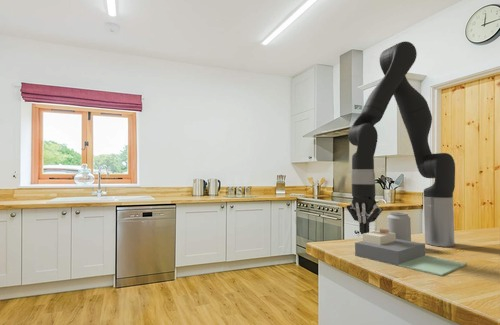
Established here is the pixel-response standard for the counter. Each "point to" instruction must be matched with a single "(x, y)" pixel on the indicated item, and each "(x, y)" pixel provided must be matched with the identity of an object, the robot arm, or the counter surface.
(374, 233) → the cream rectangular slab
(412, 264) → the mat
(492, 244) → the counter surface
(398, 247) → the block
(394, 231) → the can
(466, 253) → the counter surface
